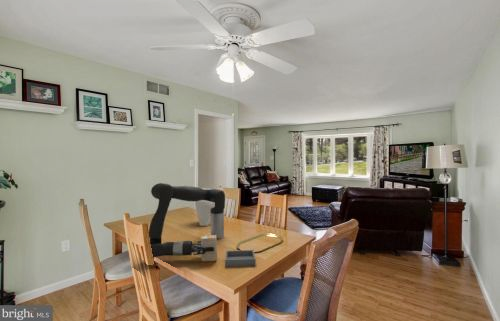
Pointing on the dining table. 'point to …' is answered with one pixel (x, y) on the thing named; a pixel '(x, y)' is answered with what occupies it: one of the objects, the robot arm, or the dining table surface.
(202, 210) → the vase
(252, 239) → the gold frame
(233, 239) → the dining table surface
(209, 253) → the supplement box
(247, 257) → the organiser tray
